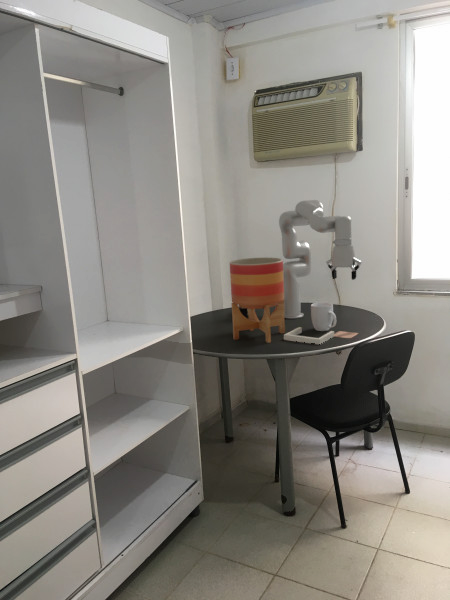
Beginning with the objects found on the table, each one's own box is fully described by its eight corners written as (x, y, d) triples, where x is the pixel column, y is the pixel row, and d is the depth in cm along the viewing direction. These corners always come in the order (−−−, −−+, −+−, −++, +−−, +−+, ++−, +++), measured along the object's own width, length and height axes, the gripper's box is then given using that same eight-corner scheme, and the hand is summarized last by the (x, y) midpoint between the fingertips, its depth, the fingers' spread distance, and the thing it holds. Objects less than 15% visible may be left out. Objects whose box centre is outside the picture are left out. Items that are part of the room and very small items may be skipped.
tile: (330, 336, 239) (330, 336, 239) (339, 331, 246) (339, 331, 246) (350, 338, 233) (350, 338, 233) (358, 333, 241) (358, 333, 240)
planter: (242, 346, 230) (238, 266, 223) (226, 333, 256) (221, 260, 248) (295, 339, 237) (293, 260, 230) (274, 326, 263) (271, 255, 256)
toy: (255, 300, 307) (251, 308, 278) (256, 311, 308) (252, 320, 279) (236, 300, 309) (230, 309, 279) (237, 311, 310) (231, 321, 280)
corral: (283, 339, 237) (283, 334, 237) (299, 332, 249) (299, 327, 249) (320, 344, 226) (320, 339, 226) (334, 336, 238) (334, 331, 238)
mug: (343, 331, 246) (343, 305, 244) (327, 335, 241) (327, 309, 238) (322, 325, 259) (321, 301, 256) (306, 329, 253) (306, 304, 250)
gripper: (322, 243, 235) (323, 279, 238) (357, 243, 224) (358, 280, 227) (329, 242, 240) (330, 277, 243) (364, 242, 230) (364, 278, 233)
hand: (344, 278), depth 235 cm, fingers open, 9 cm apart
